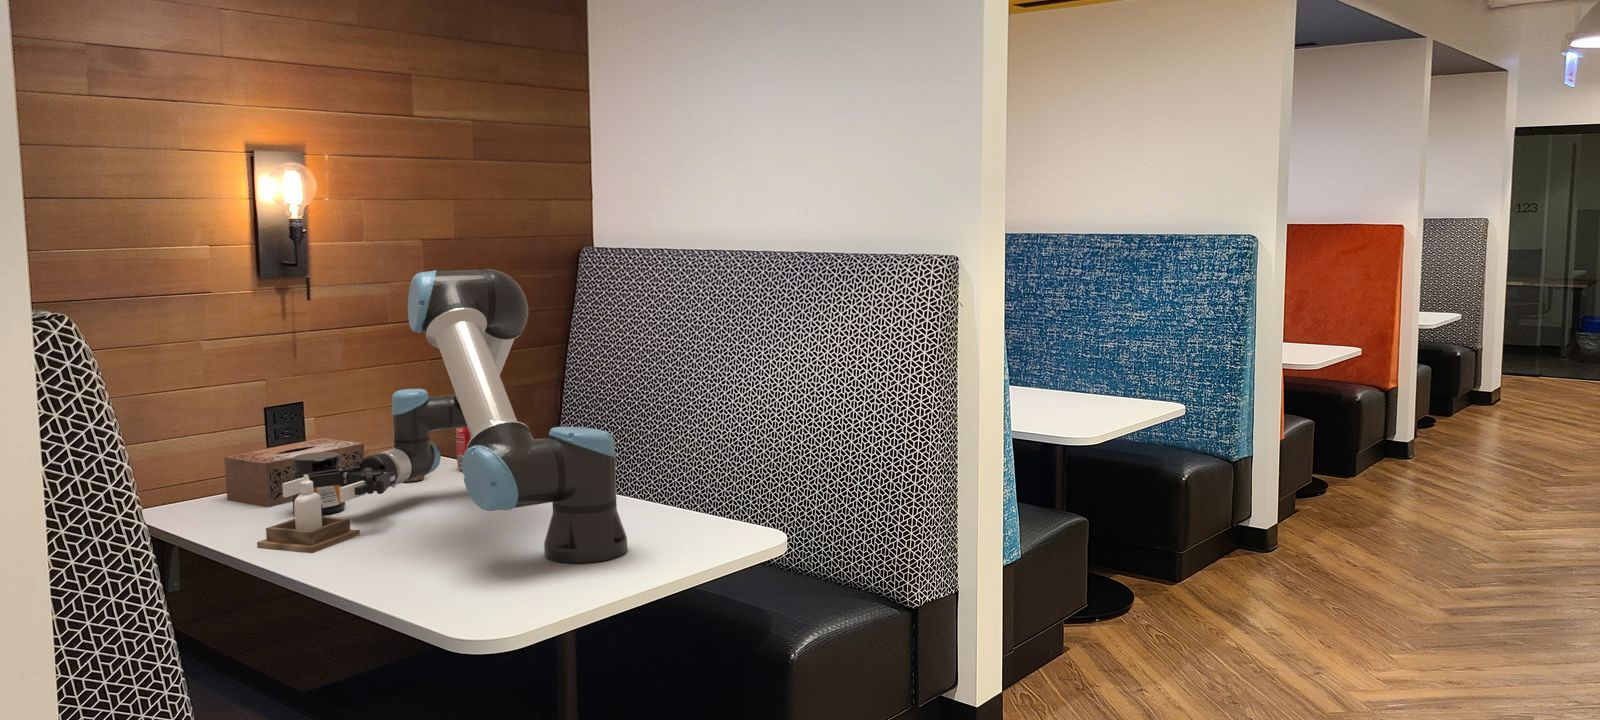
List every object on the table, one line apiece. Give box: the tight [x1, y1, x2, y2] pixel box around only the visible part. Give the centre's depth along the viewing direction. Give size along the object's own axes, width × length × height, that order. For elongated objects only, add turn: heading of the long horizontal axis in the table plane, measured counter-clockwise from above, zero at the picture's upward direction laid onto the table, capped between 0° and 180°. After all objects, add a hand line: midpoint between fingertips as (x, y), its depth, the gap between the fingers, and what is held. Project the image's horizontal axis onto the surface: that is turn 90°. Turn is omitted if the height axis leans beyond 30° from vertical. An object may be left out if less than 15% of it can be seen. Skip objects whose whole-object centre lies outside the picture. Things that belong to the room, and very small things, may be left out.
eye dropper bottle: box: [294, 475, 323, 531], centre depth 227 cm, size 4×6×12 cm
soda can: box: [455, 427, 471, 471], centre depth 291 cm, size 7×7×12 cm
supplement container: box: [290, 452, 346, 516], centre depth 251 cm, size 10×10×12 cm
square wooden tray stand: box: [256, 515, 361, 554], centre depth 227 cm, size 13×13×4 cm
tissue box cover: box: [223, 437, 366, 508], centre depth 269 cm, size 26×14×10 cm, turn 149°
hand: (312, 492), depth 228 cm, fingers open, 13 cm apart
